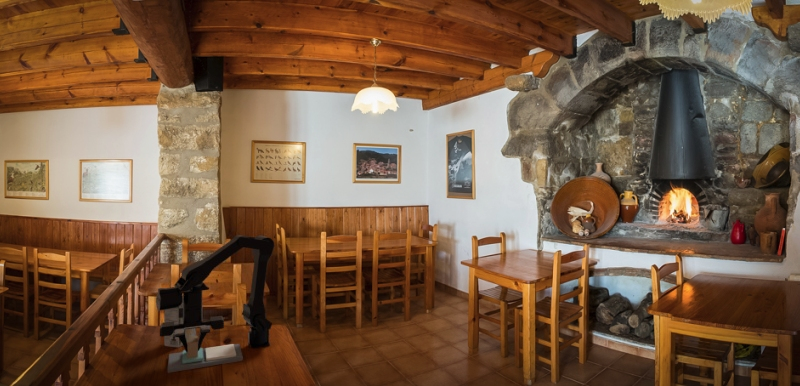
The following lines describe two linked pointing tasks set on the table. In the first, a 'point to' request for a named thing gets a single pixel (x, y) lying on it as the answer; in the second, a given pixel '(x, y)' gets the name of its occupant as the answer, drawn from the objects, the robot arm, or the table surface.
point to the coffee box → (172, 316)
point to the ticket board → (207, 358)
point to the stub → (192, 351)
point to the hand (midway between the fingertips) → (192, 351)
